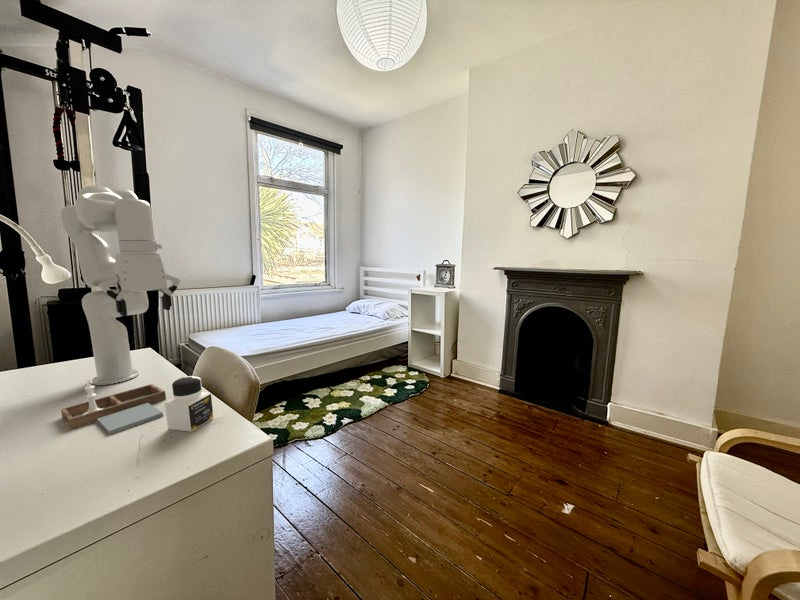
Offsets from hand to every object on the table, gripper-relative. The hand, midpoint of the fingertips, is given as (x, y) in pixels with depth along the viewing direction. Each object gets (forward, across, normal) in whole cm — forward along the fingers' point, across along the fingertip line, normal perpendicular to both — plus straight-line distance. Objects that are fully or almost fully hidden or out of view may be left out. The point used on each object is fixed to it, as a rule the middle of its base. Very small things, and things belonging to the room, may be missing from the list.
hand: (146, 312), depth 87 cm
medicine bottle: (+28, -2, +17) cm, 33 cm away
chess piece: (+28, +11, -11) cm, 32 cm away
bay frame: (+28, +6, -11) cm, 31 cm away
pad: (+28, +6, 0) cm, 28 cm away
